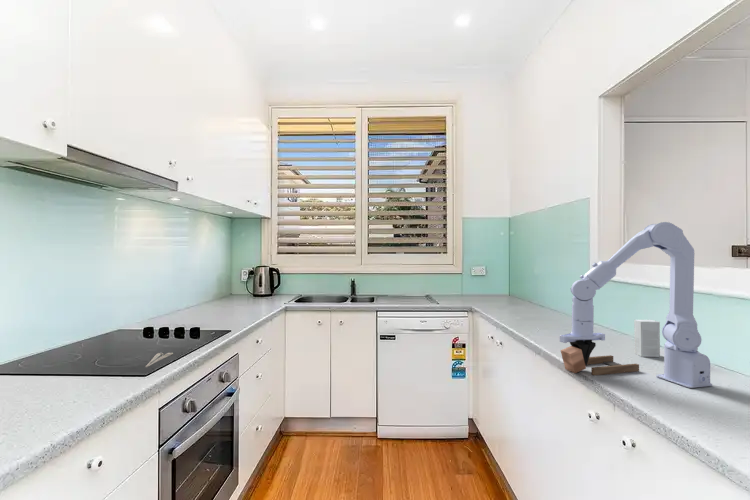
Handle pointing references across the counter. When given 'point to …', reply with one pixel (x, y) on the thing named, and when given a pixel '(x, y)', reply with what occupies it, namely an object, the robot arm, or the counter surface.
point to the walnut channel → (610, 366)
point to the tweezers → (158, 358)
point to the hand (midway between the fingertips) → (582, 365)
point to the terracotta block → (573, 359)
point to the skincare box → (647, 338)
